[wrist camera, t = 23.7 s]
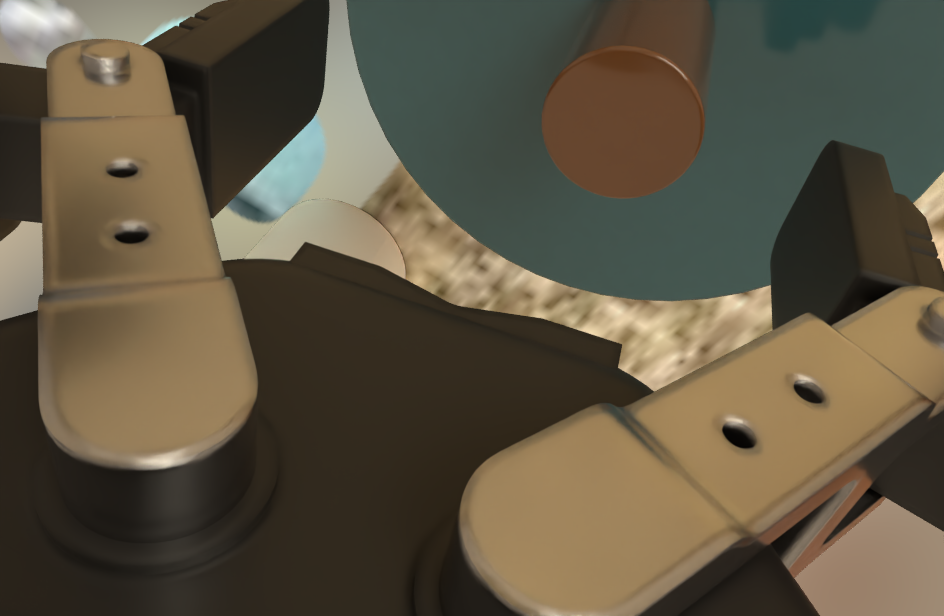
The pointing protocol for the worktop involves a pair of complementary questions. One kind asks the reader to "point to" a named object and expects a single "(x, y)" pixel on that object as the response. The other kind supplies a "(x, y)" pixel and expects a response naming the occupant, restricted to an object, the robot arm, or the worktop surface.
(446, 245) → the worktop surface
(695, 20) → the lid
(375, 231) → the cylindrical container
